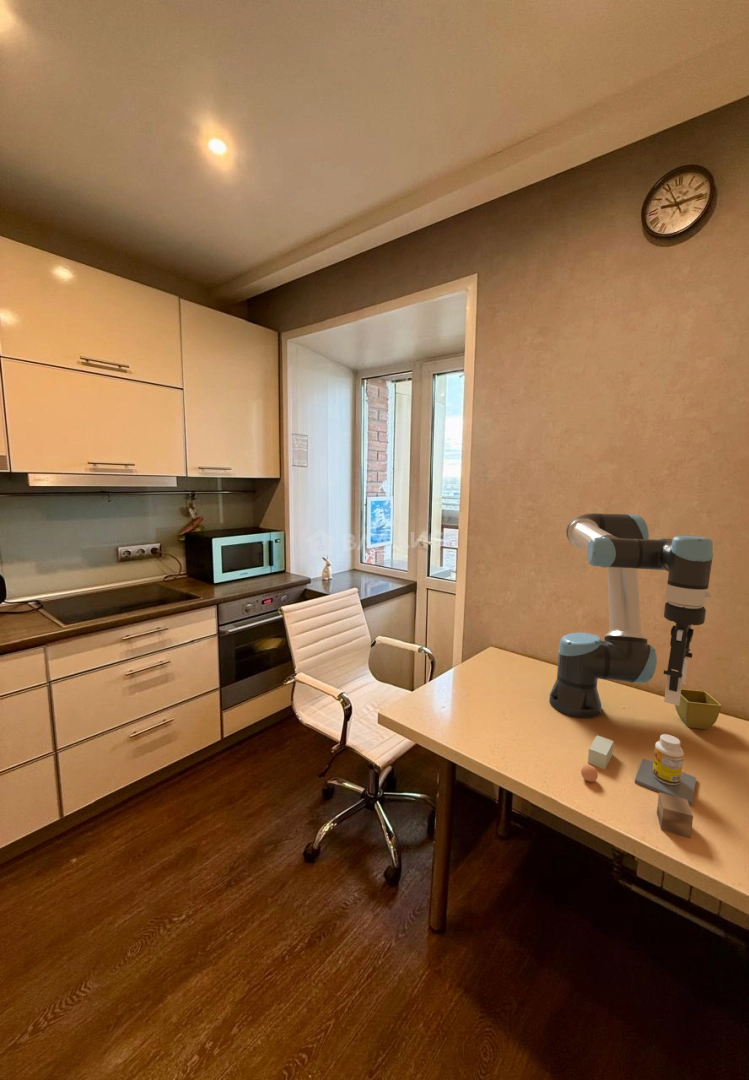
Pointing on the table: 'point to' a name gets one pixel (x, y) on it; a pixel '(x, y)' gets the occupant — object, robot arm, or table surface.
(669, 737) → the supplement bottle
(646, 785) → the slate coaster
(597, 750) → the sage block
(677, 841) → the table surface
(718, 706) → the flower pot
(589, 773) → the terracotta ball
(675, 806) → the walnut cube
